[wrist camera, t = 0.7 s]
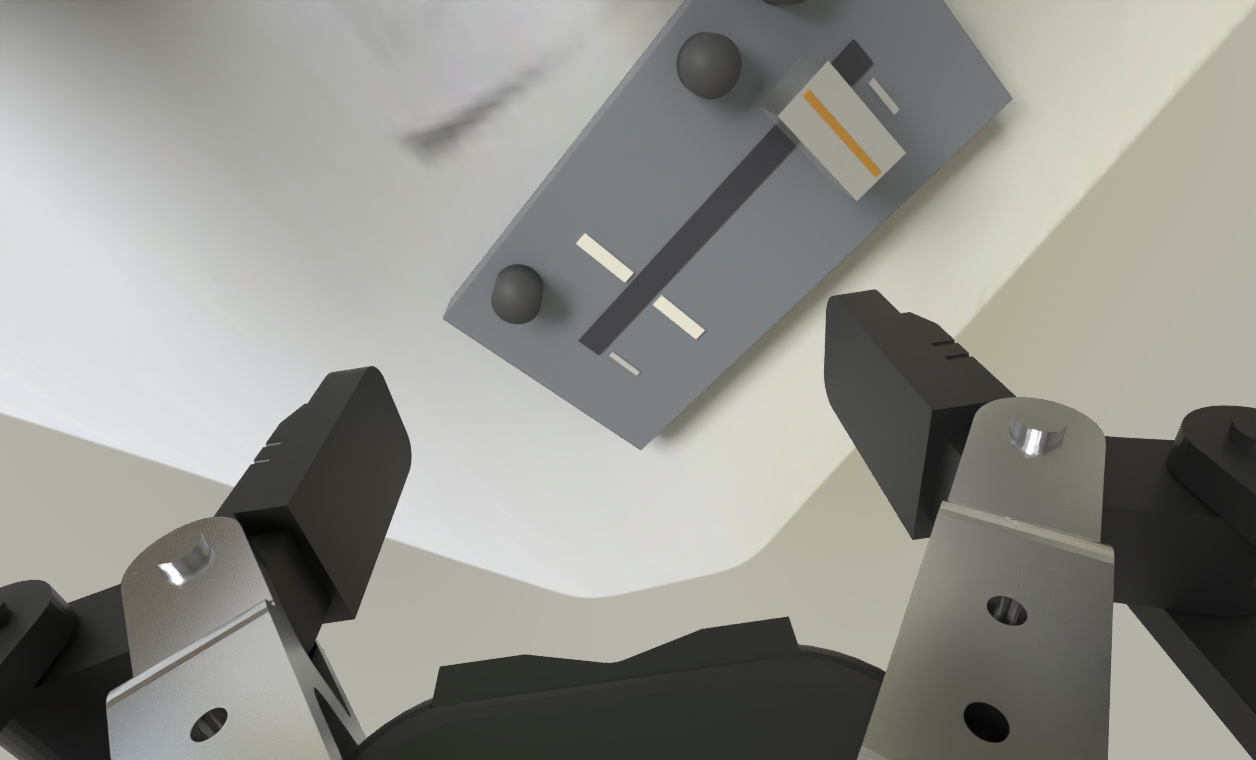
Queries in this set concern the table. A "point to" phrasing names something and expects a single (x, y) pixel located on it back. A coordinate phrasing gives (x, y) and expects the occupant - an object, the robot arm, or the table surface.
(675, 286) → the console
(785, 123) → the fader
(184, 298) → the table surface
